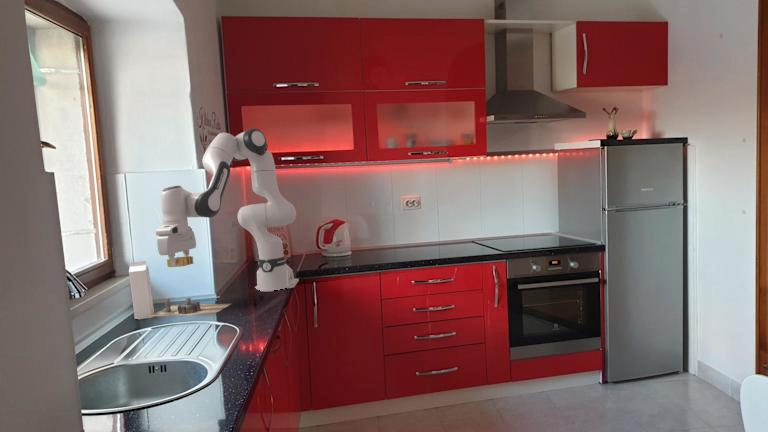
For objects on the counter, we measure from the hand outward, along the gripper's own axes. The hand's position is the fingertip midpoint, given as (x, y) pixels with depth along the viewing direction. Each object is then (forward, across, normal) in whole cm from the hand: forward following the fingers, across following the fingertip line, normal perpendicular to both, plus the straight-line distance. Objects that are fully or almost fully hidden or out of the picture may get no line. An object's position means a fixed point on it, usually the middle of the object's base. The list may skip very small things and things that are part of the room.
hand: (180, 263), depth 200 cm
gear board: (+20, 0, +2) cm, 20 cm away
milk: (+20, +3, -16) cm, 26 cm away
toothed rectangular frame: (+1, 0, 0) cm, 1 cm away
